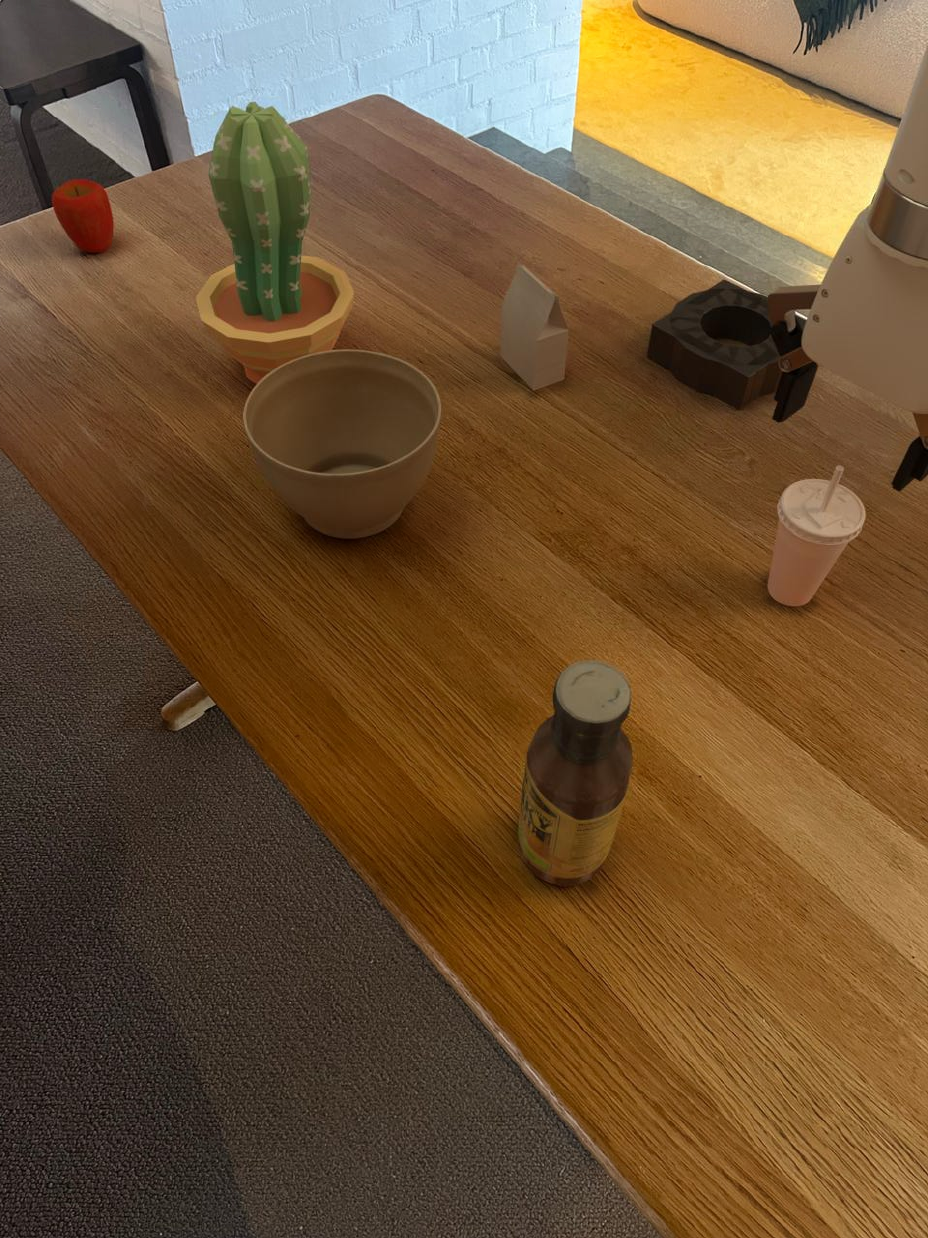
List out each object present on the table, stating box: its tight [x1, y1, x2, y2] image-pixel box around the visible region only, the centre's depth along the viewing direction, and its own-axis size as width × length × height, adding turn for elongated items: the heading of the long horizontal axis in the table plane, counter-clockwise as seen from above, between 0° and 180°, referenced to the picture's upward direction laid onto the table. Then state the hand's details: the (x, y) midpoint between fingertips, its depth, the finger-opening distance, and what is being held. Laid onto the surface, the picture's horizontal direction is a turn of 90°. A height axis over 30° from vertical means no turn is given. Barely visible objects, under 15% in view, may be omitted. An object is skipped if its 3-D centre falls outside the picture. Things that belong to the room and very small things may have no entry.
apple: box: [51, 178, 115, 254], centre depth 111 cm, size 6×6×8 cm
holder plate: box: [646, 278, 807, 411], centre depth 99 cm, size 13×13×4 cm
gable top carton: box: [499, 263, 570, 392], centre depth 95 cm, size 4×7×10 cm, turn 29°
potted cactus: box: [195, 101, 355, 385], centre depth 90 cm, size 15×15×25 cm
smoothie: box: [767, 465, 867, 607], centre depth 75 cm, size 6×6×14 cm
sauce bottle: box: [517, 659, 634, 888], centre depth 58 cm, size 6×6×20 cm
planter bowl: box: [242, 348, 443, 540], centre depth 82 cm, size 16×16×11 cm
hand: (844, 445), depth 68 cm, fingers open, 9 cm apart
